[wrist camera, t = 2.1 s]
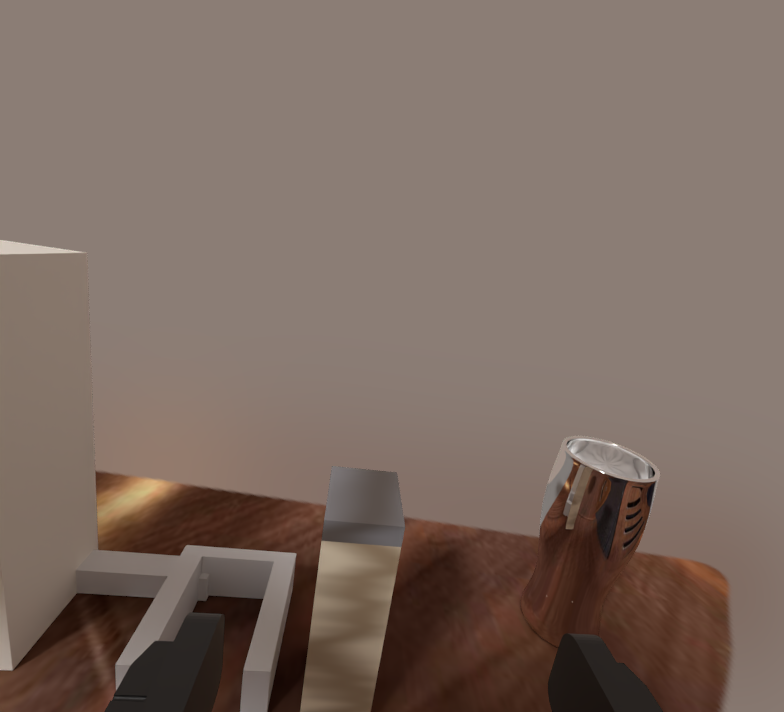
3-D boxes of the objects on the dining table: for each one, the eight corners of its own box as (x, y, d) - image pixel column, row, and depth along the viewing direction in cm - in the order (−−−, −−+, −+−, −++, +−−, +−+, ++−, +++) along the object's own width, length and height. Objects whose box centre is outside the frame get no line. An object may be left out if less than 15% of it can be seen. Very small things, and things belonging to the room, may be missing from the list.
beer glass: (513, 574, 37) (553, 426, 34) (592, 598, 36) (644, 447, 32) (516, 639, 31) (567, 465, 27) (614, 673, 29) (682, 494, 26)
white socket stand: (-144, 704, 21) (-259, 231, 15) (15, 560, 31) (-17, 237, 25) (266, 717, 23) (306, 310, 17) (294, 579, 33) (327, 287, 27)
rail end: (297, 728, 23) (324, 520, 20) (309, 645, 28) (332, 466, 24) (367, 730, 23) (404, 526, 20) (366, 648, 28) (396, 472, 25)
